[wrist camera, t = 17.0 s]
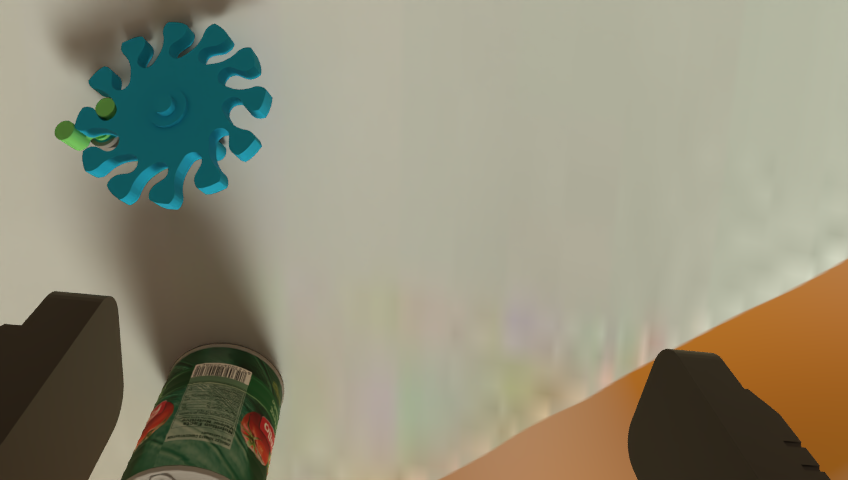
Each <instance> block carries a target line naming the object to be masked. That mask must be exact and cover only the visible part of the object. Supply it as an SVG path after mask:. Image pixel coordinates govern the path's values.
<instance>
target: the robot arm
mask: <svg viewBox="0 0 848 480" xmlns="http://www.w3.org/2000/svg"><path fill="white" fill-rule="evenodd" d="M123 388H124V383H123V368H122V355H121V342H120V328H119V315H118V307H117V303H116V301H115V299H114V298H113V297H111V296H101V295H91V294H80V293H69V292H58V291H54V292H52V293H50V294H49V295H48V296H47V297H46V298H45V299H44V300H43V301H42V302H41V303H40V305H39V306H38V307H37V308H36V309H35V310H34V312H33V313H32V314H31V315H30V316H29V317H28V319H27V320H26V321H25V322H24V323H23V324H22V325H10V324H4V325H2V326H0V480H88V479H89V477H90V475H91V473H92V471H93V469H94V467H95V465H96V463H97V461H98V459H99V457H100V455H101V453H102V452H103V450H104V448H105V446H106V444H107V442H108V440H109V438H110V436H111V434H112V432H113V430H114V428H115V426H116V423H117V420H118V417H119V414H120V410H121V405H122V399H123ZM628 434H629V435H628V451H629V458H630V461H631V465H632V467H633V470H634V472H635V474H636V477H637V479H638V480H830V478H829V477H828V476H827V475H826V473H825V472H820V470H819V464H818V463H817V462H816V461H815V459H814V458H813V457H812V456H811V454H810V453H809V452H808V450H807V449H806V448H802V447H801V441H800V440H799V439H798V437H797V436H796V435H795V434H794V432H793V431H792V430H791V428H790V427H789V426H788V425H787V423H786V422H785V421H784V419H783V418H782V417H781V416H780V415H779V414H778V413H777V412H776V411H775V410H773V409H772V408H771V407H770V406H769V405H767V404H766V403H765V402H764V401H762V400H761V399H760V398H758V397H757V396H756V395H755V394H753V393H752V392H751V391H750V390H748V389H744V388H743V387H742V385H741V384H740V383H739V381H738V380H737V379H736V377H735V376H734V375H733V373H732V372H731V371H730V369H729V368H728V367H727V366H726V364H725V363H724V361H723V360H722V359H721V358H720V357H719V356H718V355H716V354H714V353H705V352H695V351H684V350H673V349H665V350H663V351H661V352H660V353H659V354H658V356H657V357H656V359H655V361H654V364H653V366H652V369H651V372H650V374H649V377H648V379H647V382H646V385H645V387H644V390H643V392H642V395H641V398H640V400H639V403H638V405H637V408H636V411H635V413H634V416H633V418H632V421H631V424H630V428H629V433H628Z"/></svg>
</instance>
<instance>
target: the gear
mask: <svg viewBox="0 0 848 480" xmlns="http://www.w3.org/2000/svg"><path fill="white" fill-rule="evenodd" d="M163 36H164V43H163V47H162V50H161V52H160V54H159V56H158V58H157V59H156V61H155V62H154V63H153V65H151V66H150V67H147V65H148V63H149V62H150V60H151V59H152V57H153V54H154V50H153V47H152V46H151V45H150V44H149V43H148V42H147V41H146V40H145V39H144V38H143V37H142V36H141V37H135V38H132V39H130V40H128V41H125V42H123V43H122V46H121V50H122V52H123V54H124V55H125V56H126V57H127V59H128V60H129V63H130V66H131V78H130V83H129V85H128V86H127V87H126V88H125V89H123V90H121V87H122V81H121V79H120V77H119V76H118V75H116V74H115V73H114V72H113V71H112V70H111V69H110V68H108V67H105V66H104V67H102V68H101V69H99V70H98V71H97V72H96V73H95V74H94V75H93V76H92V77H91V78H90V80H89V84H90V86H91V87H92V88H93V89H95V90H96V91H97V92H98V93H100V94H101V95H102V96H104V97H109V98H103V99H101V100H100V101H99V102H98V103H97V105H96V108H95V109H96V110H94V109H93V108H91V107H84V108H82V110H81V111H80V113H79V115H78V117H77V120H76V123H75V125H74V124H73V123H71V122H70V121H63V122H61V123H59V124H58V125H57V127H56V129H55V136H56V138H58V139H59V140H61V141H62V142H64V143H66V144H67V145H69V146H70V147H72V148H74V149H75V150H79V151H80V150H84V149H85V148H87V147H88V145H89V144H90V141H91V142H92V143H93V144H94V145H96V146H97V147H89V148H87V149H85V150H84V151H83V155H82V160H83V165H84V169H85V171H86V172H88V173H90V174H91V175H93V176H95V177H98V178H99V177H104V176H106V175H107V174H108V173H109V172H111V171H112V170H113V169H114V168H116V167H117V166H119V165H121V164H124V163H126V162H132V161H138V165H137V167H136V169H135V170H134V171H133V172H131V173H128V174H120V175H116V176H114V177H113V178H112V179H111V180H110V181H109V182H108V184H107V187H108V189H109V190H110V192H111V193H112V194H113V195H114V196H115V197H117V198H118V199H119V200H121V201H123V202H125V203H126V204H128V205H132V204H134V203H135V202H136V201H137V200H138V199H139V197H140V195H141V192H142V190H143V188H144V187H145V185H146V184H147V183H148V181H149V180H150V179H151V178H152V177H154V176H155V175H156V174H158V173H159V172H161V171H163V170H164V169H167V168H168V174H167V176H166V177H165V178H164V179H163V180H162V181H160V182H158V183H157V184H156V185H154V186H153V187H152V189H151V190H150V193H149V200H151V201H153V202H154V203H156V204H157V205H159V206H161V207H163V208H166V209H176V210H178V209H179V208H180V207H181V205H182V203H183V182H184V179H185V176H186V174H187V172H188V170H189V169H190V167H191V166H192V164H193V163H194V162H195V161H196V160H199V159H202V164H201V166H200V168H199V169H198V171H197V173H196V175H195V178H194V182H195V185H196V187H197V188H198V189H199V190H201V191H202V192H203V193H205V194H213V193H217V192H219V191H221V190H224V189H226V188H227V186H228V178H227V177H226V175H225V174H224V173H223V172H222V171H221V169H220V168H219V165H218V163H217V161H220V160H222V159H223V158H224V157H225V155H226V148H225V147H224V146H223V145H222V144H221V143H220V142H219V140H220V139H221V138H222V137H224V136H228V135H229V148H230V150H231V151H232V152H233V153H234V154H235V155H236V156H237V157H238V158H239V159H240V160H242V161H244V162H246V161H248V160H250V159H251V158H252V157H253V156H254V155H255V154H256V153H257V152H258V151H259V149H260V148H261V147H262V145H261V142H260V141H259V140H258V139H257V138H256V137H255V135H254V134H253V133H252V132H250V131H248V130H243V129H240V128H237V127H236V126H234V125H233V123H232V121H231V120H230V117H229V114H230V111H231V110H232V108H233V107H235V106H237V105H244V106H245V107H246V108H247V110H248V111H249V112H250V113H251V114H252V115H253V116H254V117H256V118H260V119H261V118H266V116H267V115H268V113H269V110H270V107H271V103H272V97H271V95H270V94H269V93H268V92H267V90H266V89H265V88H263V87H259V86H256V87H252V88H249V89H244V90H237V89H232V88H229V87H226V86H225V84H226V81H227V80H228V79H229V78H230V77H232V76H235V75H237V76H241V77H243V78H246V79H255V78H257V77H259V76H260V75H261V66H260V62H259V60H258V57H257V56H256V54H255V53H254V52H253V50H252V49H251V48H248V47H247V48H243V49H241V50H239V51H238V52H237V53H236V54H235V55H233V56H232V57H231V58H229V59H227V60H225V61H223V62H220V63H215V64H208V65H206V63H207V61H208V60H209V58H211V57H213V56H216V55H223V54H226V53H228V52H230V51H231V50H232V49H233V47H234V43H233V41H232V40H231V38H230V37H229V36H228V35H227V33H226V32H225V31H224V30H223V29H222V28H221V27H219V26H218V25H216V24H212V25H211V26H209V27H208V28H207V29H206V31H205V33H204V35H203V37H202V39H201V41H200V42H199V44H198V45H197V46H196V47H195V48H194V49H193V50H191V51H190V52H189V53H187V54H186V55H184V56H183V57H181V58H177V57H178V55H179V54H180V53H181V52H182V51H184V50H185V49H187V48H188V47H190V46H191V45H192V43H193V42H194V39H195V34H194V33H193V32H192V31H191V30H190V29H189V27H188V26H187V25H185V24H183V23H178V22H168V23H167V24H166V25H165V27H164V29H163ZM111 98H112V99H111ZM98 147H99V148H98Z"/></svg>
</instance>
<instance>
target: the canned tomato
mask: <svg viewBox="0 0 848 480" xmlns="http://www.w3.org/2000/svg"><path fill="white" fill-rule="evenodd" d="M283 397H284V387H283V382H282V379H281V376H280V374H279V373H278V371H277V370H276V368H275V367H274V366H273V365H272V364H271V363H270V362H269V361H268V360H267V359H266V358H264V357H263V356H262V355H260V354H259V353H257V352H255V351H253V350H250V349H248V348H245V347H242V346H238V345H233V344H225V343H224V344H209V345H204V346H200V347H197V348H195V349H192V350H190V351H189V352H187V353H185V354H184V355H182V356H181V357H180V358H179V359H178V360H177V361H176V362H175V364H174V365H173V367H172V368H171V370H170V373H169V376H168V379H167V381H166V383H165V385H164V387H163V389H162V392H161V394H160V395H159V398H158V401H157V402H156V404H155V406H154V409H153V411H152V412H151V415H150V418H149V420H148V421H147V423H146V427H145V429H144V430H143V432H142V435H141V437H140V439H139V441H138V443H137V446H136V448H135V450H134V451H133V454H132V457H131V459H130V460H129V462H128V465H127V468H126V470H125V471H124V473H123V476H122V478H121V480H266V477H267V474H268V468H269V464H270V458H271V455H272V448H273V445H274V438H275V435H276V429H277V425H278V420H279V415H280V408H281V405H282V403H283Z"/></svg>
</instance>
